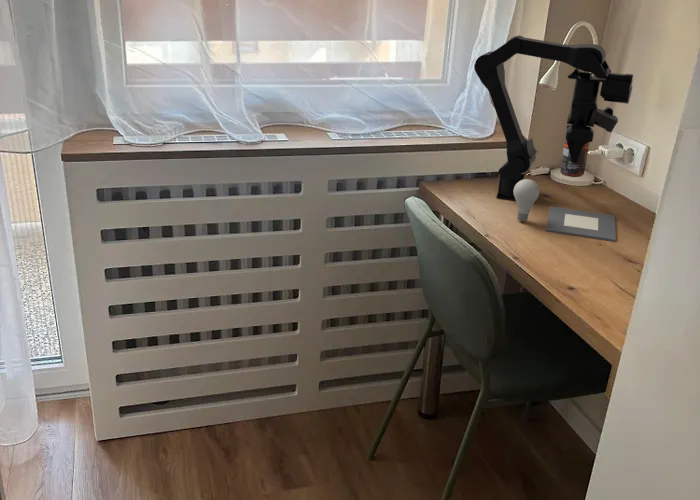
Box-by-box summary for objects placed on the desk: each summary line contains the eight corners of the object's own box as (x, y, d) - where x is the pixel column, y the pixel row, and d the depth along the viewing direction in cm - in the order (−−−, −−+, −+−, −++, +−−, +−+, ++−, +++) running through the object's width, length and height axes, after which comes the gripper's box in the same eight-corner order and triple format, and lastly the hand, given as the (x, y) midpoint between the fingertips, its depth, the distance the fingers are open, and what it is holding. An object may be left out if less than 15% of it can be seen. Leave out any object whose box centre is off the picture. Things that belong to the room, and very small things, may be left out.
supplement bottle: (580, 171, 180) (588, 128, 175) (586, 178, 175) (594, 135, 170) (557, 169, 181) (564, 127, 176) (562, 177, 175) (569, 134, 170)
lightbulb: (536, 219, 173) (543, 178, 168) (531, 228, 168) (538, 185, 163) (512, 215, 175) (518, 174, 170) (506, 223, 170) (512, 181, 165)
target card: (545, 231, 166) (545, 228, 166) (549, 208, 180) (550, 206, 180) (615, 241, 162) (615, 239, 162) (614, 217, 176) (614, 215, 176)
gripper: (621, 110, 159) (608, 174, 166) (617, 93, 175) (606, 152, 182) (571, 105, 162) (560, 168, 169) (572, 89, 178) (562, 147, 185)
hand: (574, 159), depth 176 cm, fingers closed on supplement bottle, 6 cm apart
